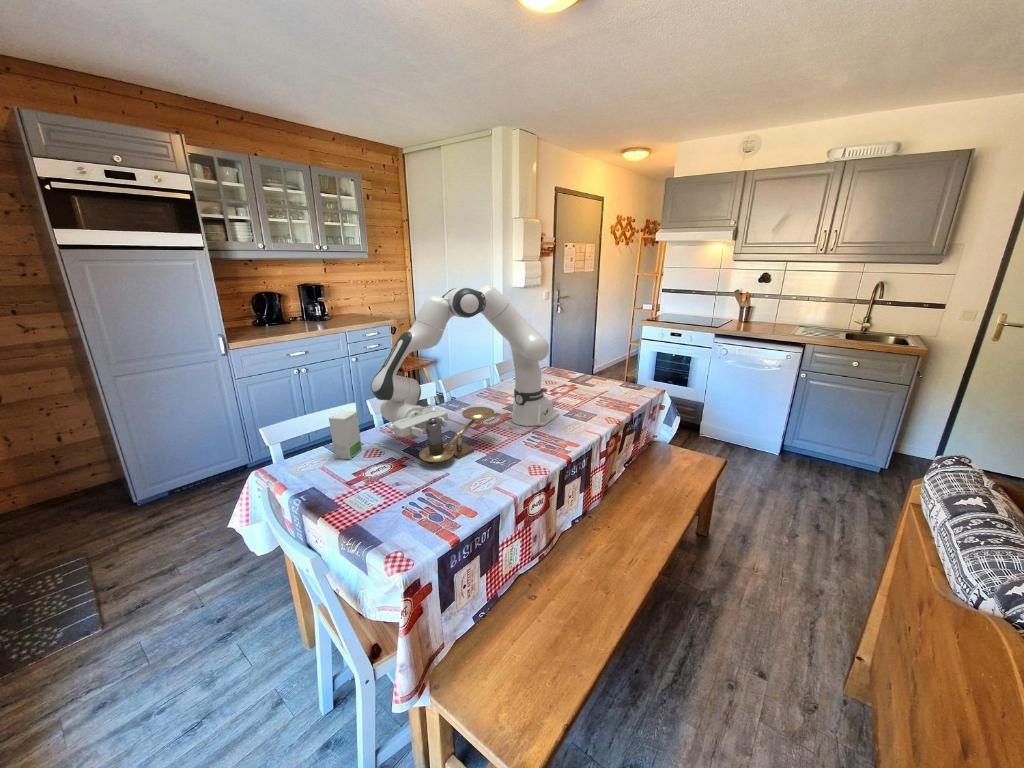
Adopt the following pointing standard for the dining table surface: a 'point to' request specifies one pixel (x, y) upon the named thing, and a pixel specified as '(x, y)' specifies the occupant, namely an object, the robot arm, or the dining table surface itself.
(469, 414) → the balance
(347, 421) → the skincare box
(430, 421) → the iron weight
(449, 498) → the dining table surface
